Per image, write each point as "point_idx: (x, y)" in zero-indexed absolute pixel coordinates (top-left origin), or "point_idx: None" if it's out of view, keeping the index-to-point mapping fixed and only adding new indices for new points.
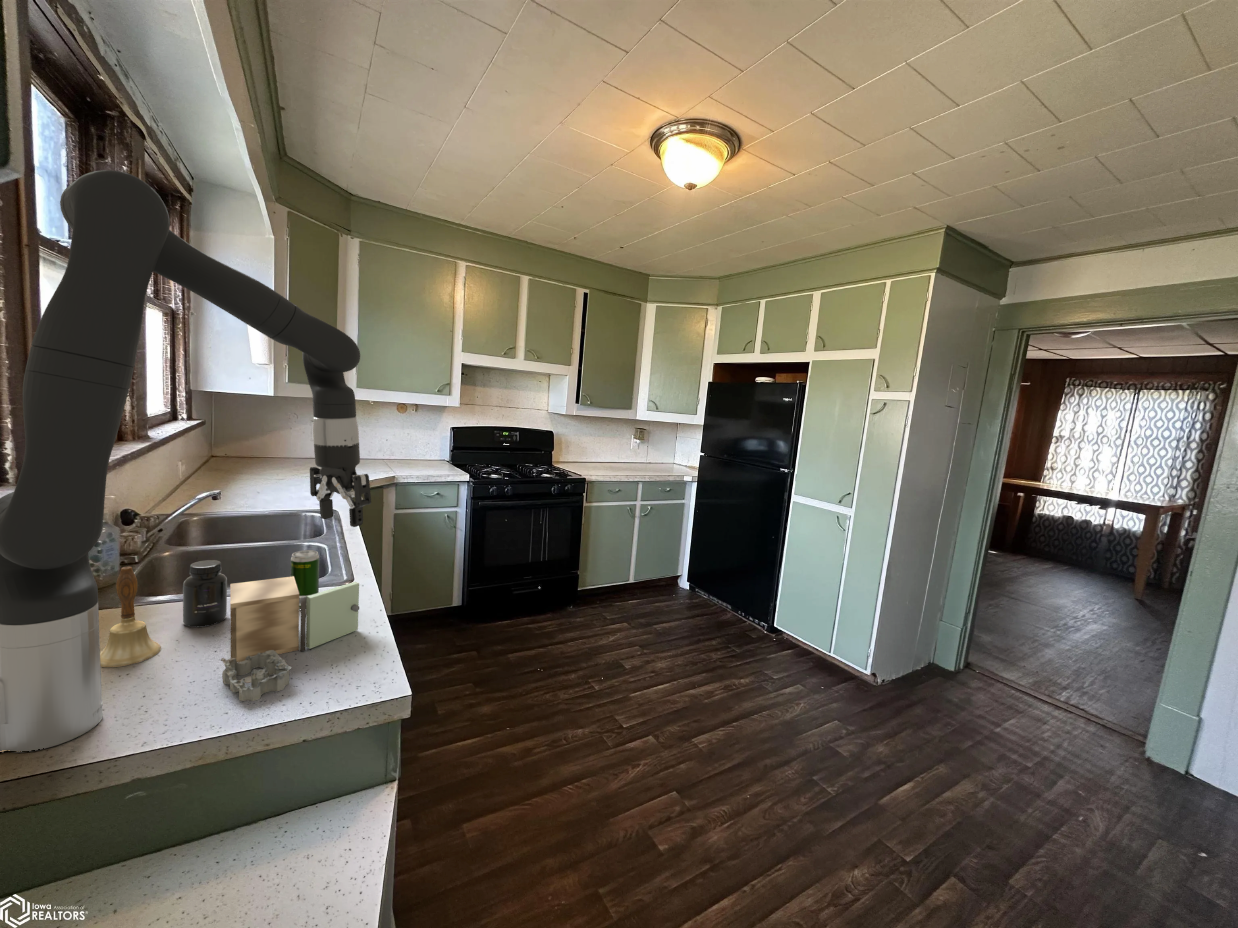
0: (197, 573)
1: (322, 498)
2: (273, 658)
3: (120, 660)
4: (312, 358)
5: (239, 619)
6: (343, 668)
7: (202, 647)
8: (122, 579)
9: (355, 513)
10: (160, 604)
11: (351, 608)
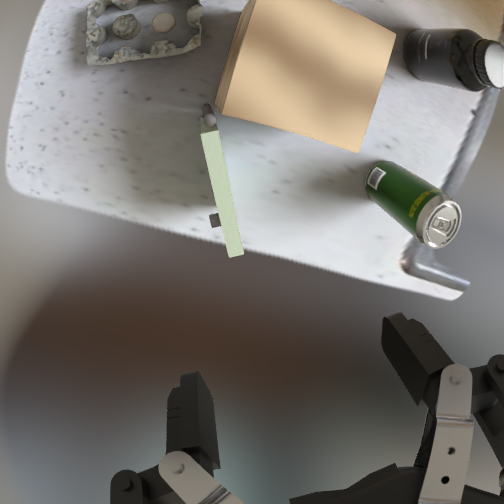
0: (479, 42)
1: (438, 389)
2: (163, 50)
3: None
4: None
5: (251, 3)
6: (102, 143)
7: None
8: None
9: (172, 433)
10: None
11: (217, 213)
